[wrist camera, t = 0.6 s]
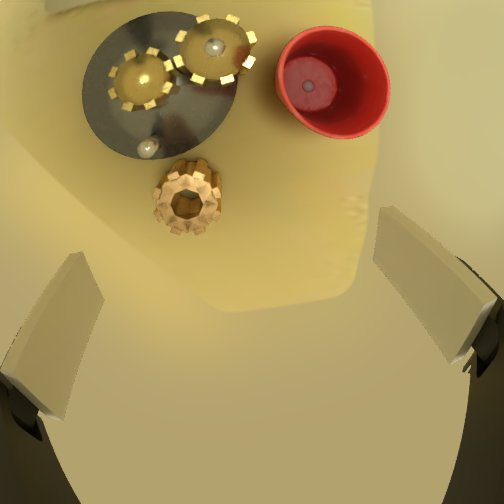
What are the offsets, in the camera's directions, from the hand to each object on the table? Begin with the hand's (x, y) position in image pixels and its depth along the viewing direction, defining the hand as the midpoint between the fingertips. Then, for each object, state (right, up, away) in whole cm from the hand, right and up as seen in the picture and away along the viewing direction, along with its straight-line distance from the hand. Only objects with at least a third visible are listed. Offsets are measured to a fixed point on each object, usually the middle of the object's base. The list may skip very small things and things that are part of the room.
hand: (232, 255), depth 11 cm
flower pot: (+7, +20, +16) cm, 26 cm away
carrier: (-10, +19, +14) cm, 25 cm away
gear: (-7, +8, +21) cm, 23 cm away
